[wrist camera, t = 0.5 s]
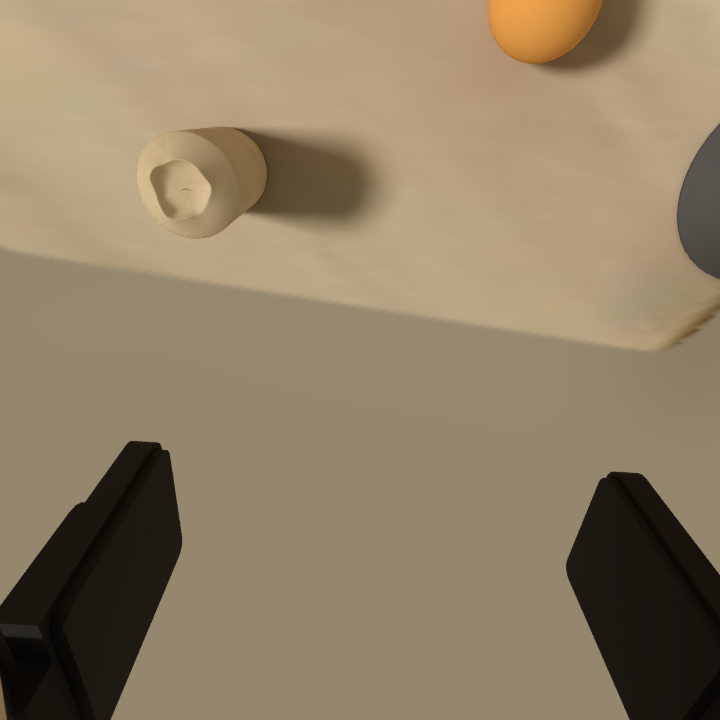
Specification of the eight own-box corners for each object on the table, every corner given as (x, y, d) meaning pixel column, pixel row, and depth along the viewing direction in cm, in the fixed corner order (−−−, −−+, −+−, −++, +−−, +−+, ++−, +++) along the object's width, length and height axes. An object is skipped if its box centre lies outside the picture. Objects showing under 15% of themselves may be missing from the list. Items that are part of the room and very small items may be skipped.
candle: (244, 226, 35) (203, 264, 26) (175, 180, 33) (107, 204, 24) (282, 160, 33) (252, 177, 24) (211, 108, 31) (150, 106, 22)
